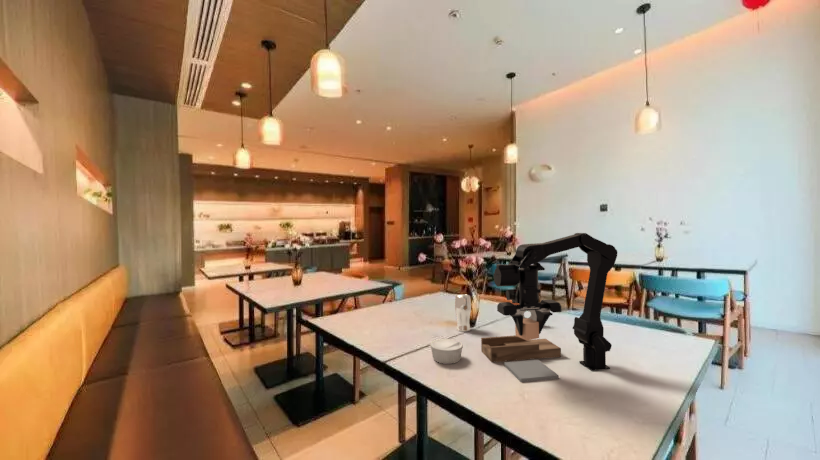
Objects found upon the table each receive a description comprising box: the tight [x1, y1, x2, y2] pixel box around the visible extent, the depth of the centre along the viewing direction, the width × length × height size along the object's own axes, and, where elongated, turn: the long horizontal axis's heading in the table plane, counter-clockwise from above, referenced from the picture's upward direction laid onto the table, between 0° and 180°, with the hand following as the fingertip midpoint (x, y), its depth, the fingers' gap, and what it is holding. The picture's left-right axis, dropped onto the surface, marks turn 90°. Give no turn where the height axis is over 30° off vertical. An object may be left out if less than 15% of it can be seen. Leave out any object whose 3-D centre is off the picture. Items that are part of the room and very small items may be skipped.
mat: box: [503, 359, 560, 383], centre depth 106 cm, size 12×12×1 cm
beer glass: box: [454, 293, 472, 333], centre depth 149 cm, size 7×7×15 cm
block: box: [514, 317, 540, 340], centre depth 107 cm, size 5×5×5 cm
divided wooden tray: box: [480, 334, 562, 363], centre depth 120 cm, size 10×25×5 cm, turn 98°
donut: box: [520, 307, 537, 321], centre depth 153 cm, size 10×4×10 cm, turn 85°
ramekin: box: [429, 338, 464, 365], centre depth 118 cm, size 11×11×5 cm
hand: (529, 334), depth 106 cm, fingers closed on block, 5 cm apart
